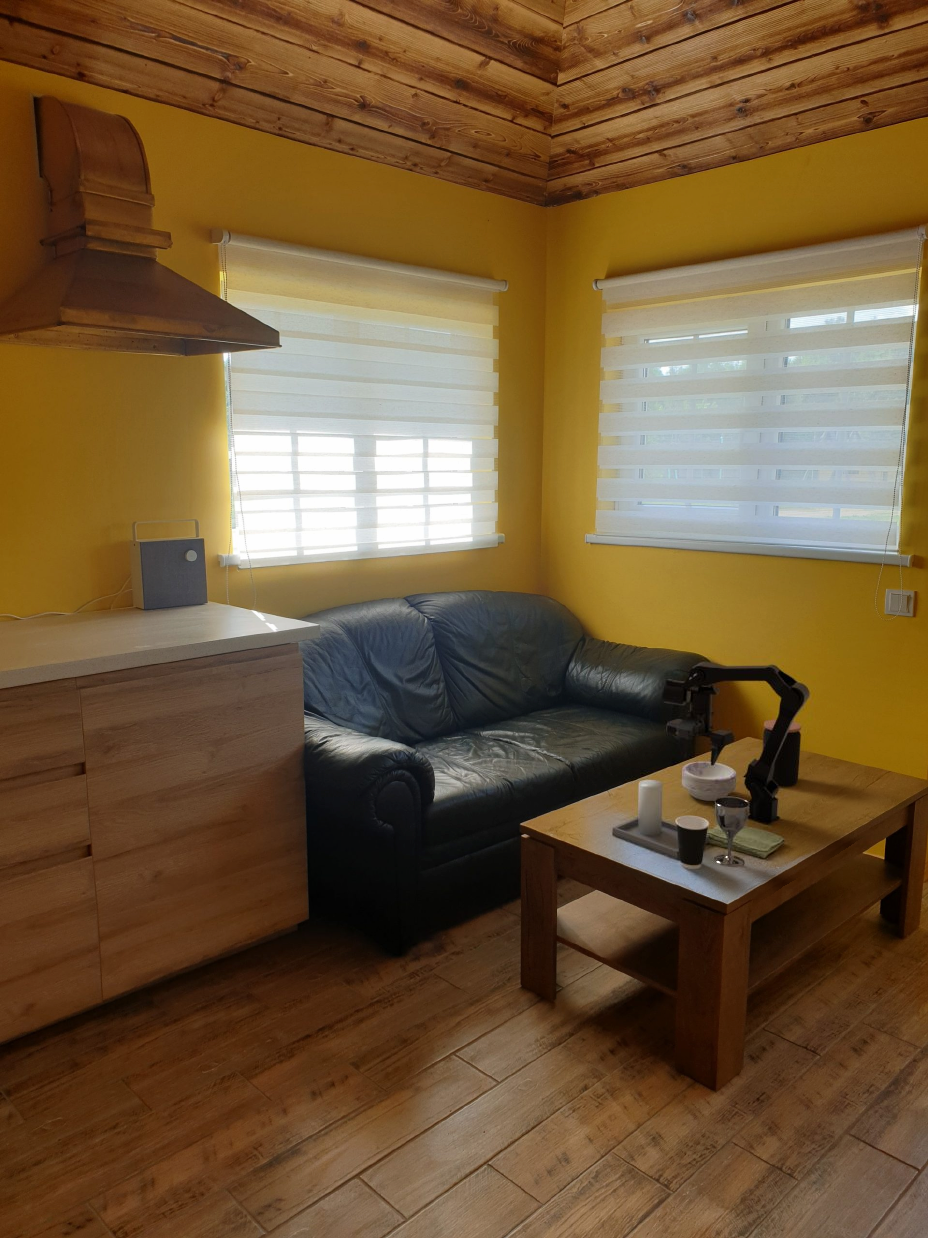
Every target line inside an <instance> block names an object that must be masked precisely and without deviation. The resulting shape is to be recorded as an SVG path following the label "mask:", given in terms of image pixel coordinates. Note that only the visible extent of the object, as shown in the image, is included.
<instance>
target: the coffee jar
mask: <svg viewBox="0 0 928 1238" xmlns="http://www.w3.org/2000/svg"><path fill="white" fill-rule="evenodd" d="M776 720H777V719H770V720H765V721H764V723H763V726H764V730H763V734H762V735H763V737H762V752H763V749H764V747H765V745H766V742H767V740H768V738H769V736H770V733H771V731H772V729H773V727H774V724H775V722H776ZM801 730H802V724H800V723H799V722H795V721H793V722H792V724H791V726H790V729H789V731H788V733H787V735H786V738H785V740H784V742H783V744H782V747H781V749H780V751H779V753H778V756H777V758H776V760H775V763H774V772H773V777H772V779H773V780H774V781H775V782H776V784H777V785H778V786H779V787H780V788H785V787H786V788H790V787H793V786H796V783H798V780H799V773H800V772H799V771H800V769H799V767H800V755H801V740H802V739H801V738H802V735H801V732H800V731H801ZM762 752H761V753H762Z"/></svg>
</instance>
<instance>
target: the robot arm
mask: <svg viewBox="0 0 928 1238" xmlns="http://www.w3.org/2000/svg"><path fill="white" fill-rule="evenodd" d="M688 675H689V676H688V677H687V679H686V680H683V681H682V680H676V679H672V678H668V679H666V681H665V686H664V688H663V692H662V701H663V703H666V704H670V705H671V704H672V705H677V706H678V705H679V706H685V705H686V704H687V703H689V702H690V704H689V705H690V706H689V709H690V710H687V713H686V715H685V716H686V717H685V718H684V719H680V718H676V719H673V720H669V721H668V722H667V724H666V730H665V731H666V732H668V733H669V735H670V736H672V737H674V739H676V742H677V744H678V747H679V750H680V754H681V756H682V758H683V759H685V758H687V754H688V749H689V743H690V742H689V740H690V741H691V740H693V739H695V737H696V736H697V737H706V738H710V739H709V740H710V742H711V743H709V746H710V748H711V750H710V751H711V752H710V762H711V765H712V766H713V765H714V764H715V763H717V760H718V759H719V756H720V754H721V753H722V751H723V750H724V748H725V747H726V746H727V745H730V744H732V743H735V734H734V733H733V732H732V731H729V730H727V729H725V730H724V729H719V730H716V731H712V729H713V730H714V725H713V724H712V723H711V722H712V716H713V715H714V713H715V711H714V710H712V706H713V705H712V703H713V702H712V700H713V696H716V695H718V694H719V693H721V690H720V689H719V688H718V687H717V686H716V684H718V683H721V682H766V683H767V684H768V685H769V686H770V688H771V689H772V690H773V691H774V693H775V694H776V695H777V696H778V697H779V698H780V700H779V708H778V714H777V715H778V716H777V718H776V719H775V720H776V722H775V724H774V727H773V729H772V731H771V733H770V736H769V738H768V740H767V742H766V745H765V747H764V749H763V748H762V749H763V752H761V754H760V756H759V759H757V758H753V759H752V761H750V763H749V764H748V765H747V769H746V773H745V774H744V775H743V778H744V781H743V782H744V784H743V785H744V786H745V788H746V789H747V791H748V792H749V793H750V797H751V798H750V799H749V814H748V819H749V820H752V821H755V822H758V823H759V822H760V823H761V824H765V825H770V824H772V823H774V822H777V821H778V820H781V819H780V818H781V817H780V816H778V809H779V808H778V806H779V798H778V797H776V795H777V794H778V793H779V791H780V788H781V787H779V786H778V785H777V784H776V782H775V781H774V780H773V779H772V777H773V772H774V763H775V760H776V758H777V756H778V753H779V751H780V749H781V747H782V744H783V742H784V740H785V738H786V735H787V733H788V731H789V729H790V726H791V724H792V722H794V719H795V718H796V716H797V715H798V714H799V712H801V710H802V709H803V707H804V706H805V704H806V702H807V701H808V700H809V698H810V695H811V692H810V689H809V687H807V686H806V684H804V683H802V682H798V681H797V680H796V679H795V678H794V677H792V676H791V675H789V674H788V673H786V672H785V671H783V670H782V669H780V667H778V666H777V665H775V664H768V665H724V664H721V663H717V662H710V661H701V662H699V663H698V664H696V665H694V666H693V667H691V669H690V670H689V674H688ZM708 685H709V686H708ZM694 686H697V687H694Z"/></svg>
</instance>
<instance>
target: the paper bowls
mask: <svg viewBox="0 0 928 1238" xmlns="http://www.w3.org/2000/svg"><path fill="white" fill-rule="evenodd" d="M681 773H682V775H681V785H682V786H683V788H684V789H686V790H688V792H689V794H690V796H692V797H693V798H695V799H697V800H701V801H706V802H715V800H716V799H717V798H719V797H724V796H729V794H731V793H734V792H735V790H736V788H737V787H736V786H737V771H736V770H735V769H734V768H732V767H730V766H728V765H726V764H723V763H719V762H715V764H714V765H713V766H712V765H711V761H695V762H694V761H692V762H690V763H687V764H685V765H684V766H683V767H682V771H681Z"/></svg>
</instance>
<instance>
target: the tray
mask: <svg viewBox="0 0 928 1238" xmlns="http://www.w3.org/2000/svg"><path fill="white" fill-rule="evenodd" d="M611 835H612V836H613V837H617V838H619V839H622V840H624V841H627V842H630V843H632V844H635V845H637V844H638V846H641V847H643V848H646V849H648V850H651V851H653V852H655V853H658V854H660V855H661V854H662V855H664V856H666V855H667V857H669V858H672V859H674V860H675V859H676V860H679V848H678V835H677V824H676V823H674V822H673V823H672V822H669V821H668V820H664V819H662V832H661V834H659V835H656V836H647V835H643V834H641V833H639V831H638V816H637V817H635V818H632V819H630V820H627V821H625V822H623V823H621V824H618V825H616V826H614V827H612V834H611ZM708 840H709V836H708V835H707V836H706V842H705V846H706V845H708V844H709V843H708Z"/></svg>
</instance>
